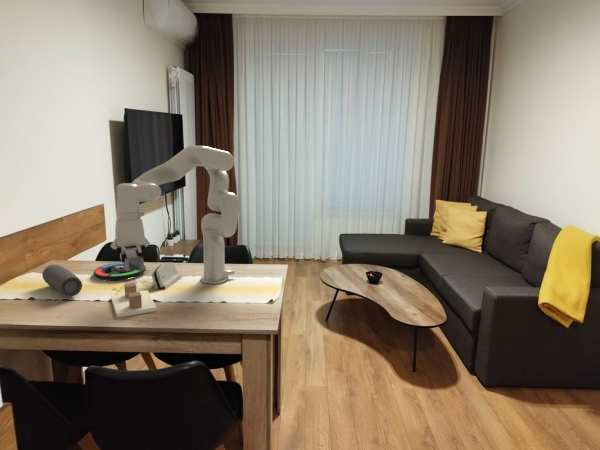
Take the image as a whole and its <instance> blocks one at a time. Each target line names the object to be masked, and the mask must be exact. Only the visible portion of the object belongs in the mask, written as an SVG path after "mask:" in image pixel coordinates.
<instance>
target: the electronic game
mask: <svg viewBox="0 0 600 450" xmlns="http://www.w3.org/2000/svg"><path fill="white" fill-rule="evenodd" d="M146 269H147V267H146V266H145V265H144V269H142V270H134V271H126V269H125V264H124V262H122V261H121V262H113V263H108V264H104V265H101V266H98V267H96V269H94V271H93V276H94V277H95V278H97V279H99V280H101V281H104V280H105V282H121V281H127V280H126V279H128V278H131V277H136V278H138V277H140V276H141V275H142V274H144V273H145V272H146ZM137 276H138V277H137Z"/></svg>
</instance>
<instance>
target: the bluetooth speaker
mask: <svg viewBox="0 0 600 450" xmlns="http://www.w3.org/2000/svg"><path fill="white" fill-rule="evenodd" d="M42 279H43V281H44V282H45V283H46V284H47V285H48V286H49V288H51V289H52V290H53V291H55V292H56V293H58V294H59V293H60V294H59V295H61V296H63V297H67V298H71V297H75V296H77V295H78V294H79V293H80V292H81V291H82V288H83V283H82V281H81V278H79V277H78V276H77V275H76V274H75V273H74V272H72V271H70V270H68V269H67V268H65V267H63V266H62V265H58V264H50V265H48V266H46V267H45V268H44V269H43V272H42Z"/></svg>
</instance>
